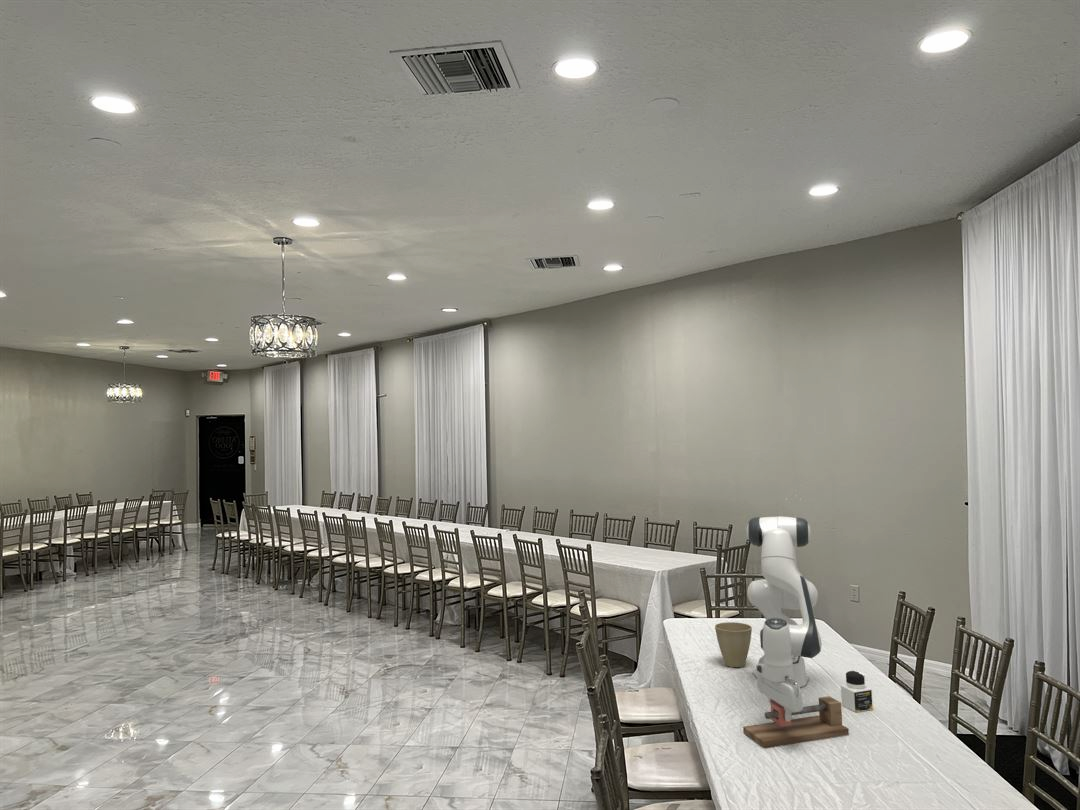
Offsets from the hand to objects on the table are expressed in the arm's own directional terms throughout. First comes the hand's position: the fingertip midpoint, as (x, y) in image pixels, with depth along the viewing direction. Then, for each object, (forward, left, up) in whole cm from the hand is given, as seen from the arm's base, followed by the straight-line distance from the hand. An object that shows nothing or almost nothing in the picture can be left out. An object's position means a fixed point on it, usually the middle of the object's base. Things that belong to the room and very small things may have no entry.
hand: (780, 716), depth 227 cm
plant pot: (-67, +21, -6) cm, 70 cm away
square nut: (0, 0, -2) cm, 2 cm away
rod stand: (0, +5, -6) cm, 8 cm away
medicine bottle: (-12, +37, -6) cm, 39 cm away
